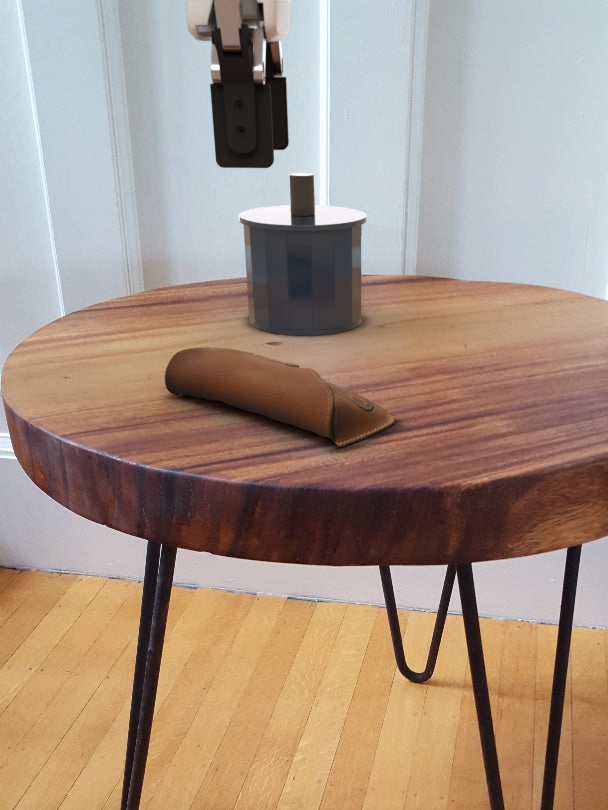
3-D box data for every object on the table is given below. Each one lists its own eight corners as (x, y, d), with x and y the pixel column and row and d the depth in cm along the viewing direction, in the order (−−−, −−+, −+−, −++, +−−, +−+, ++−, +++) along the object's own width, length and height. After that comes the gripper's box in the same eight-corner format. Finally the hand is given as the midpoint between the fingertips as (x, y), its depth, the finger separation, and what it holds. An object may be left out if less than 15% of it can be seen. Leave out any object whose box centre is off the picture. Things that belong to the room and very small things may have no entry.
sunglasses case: (405, 415, 73) (377, 347, 67) (354, 483, 71) (321, 419, 65) (239, 369, 82) (203, 307, 77) (190, 429, 80) (150, 369, 75)
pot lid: (295, 243, 86) (294, 186, 83) (213, 225, 93) (209, 173, 91) (393, 227, 93) (394, 175, 91) (309, 212, 100) (308, 163, 98)
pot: (299, 342, 91) (296, 235, 86) (227, 319, 98) (220, 219, 93) (384, 321, 98) (385, 221, 93) (311, 302, 105) (308, 207, 100)
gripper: (189, -191, 55) (214, 143, 65) (120, -270, 41) (166, 175, 50) (318, -190, 55) (324, 144, 65) (295, -268, 41) (307, 176, 50)
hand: (255, 157), depth 58 cm, fingers open, 9 cm apart
